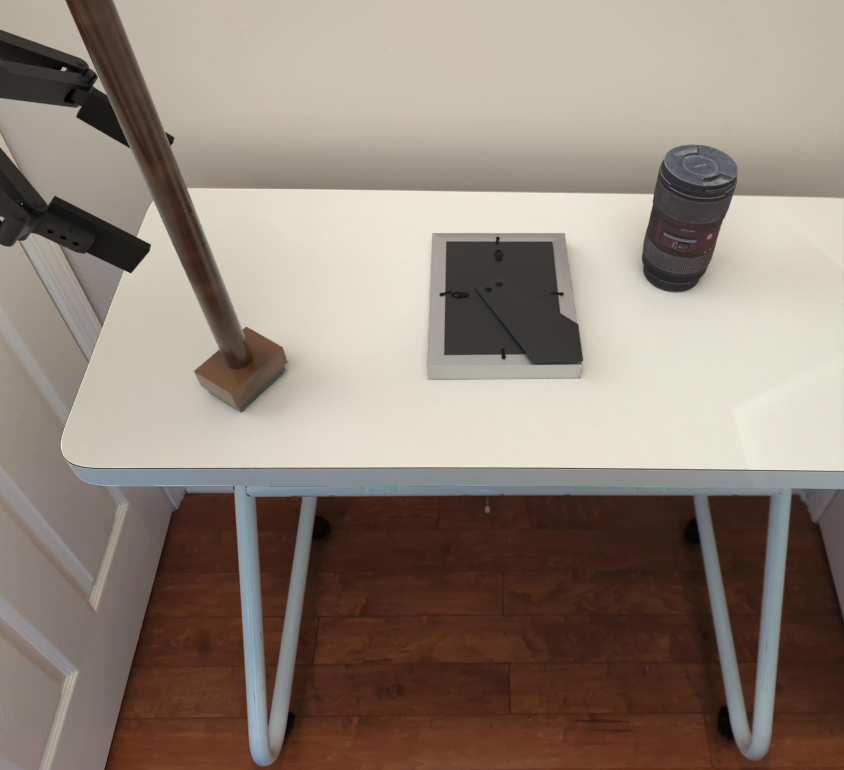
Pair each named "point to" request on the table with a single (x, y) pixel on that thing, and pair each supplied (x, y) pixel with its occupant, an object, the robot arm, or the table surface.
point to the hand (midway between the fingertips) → (154, 201)
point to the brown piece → (176, 211)
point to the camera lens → (687, 215)
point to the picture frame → (502, 307)
